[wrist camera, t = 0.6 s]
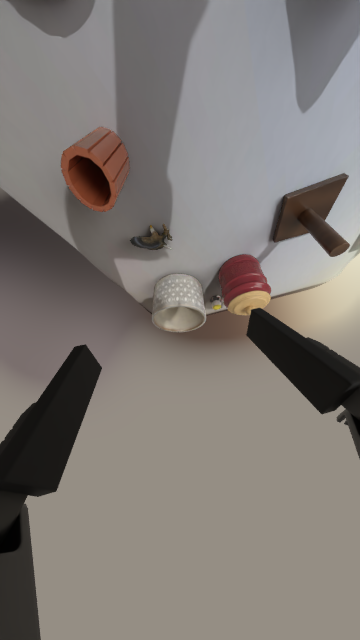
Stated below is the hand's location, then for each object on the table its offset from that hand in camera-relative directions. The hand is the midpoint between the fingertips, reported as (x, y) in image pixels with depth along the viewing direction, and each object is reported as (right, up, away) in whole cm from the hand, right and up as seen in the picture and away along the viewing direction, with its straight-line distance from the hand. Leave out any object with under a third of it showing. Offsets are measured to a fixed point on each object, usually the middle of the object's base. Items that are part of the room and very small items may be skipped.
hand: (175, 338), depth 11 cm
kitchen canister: (+20, +19, +35) cm, 44 cm away
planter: (0, +14, +43) cm, 45 cm away
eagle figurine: (-6, +24, +24) cm, 35 cm away
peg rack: (+29, +27, +21) cm, 45 cm away
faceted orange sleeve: (-12, +30, +13) cm, 35 cm away
